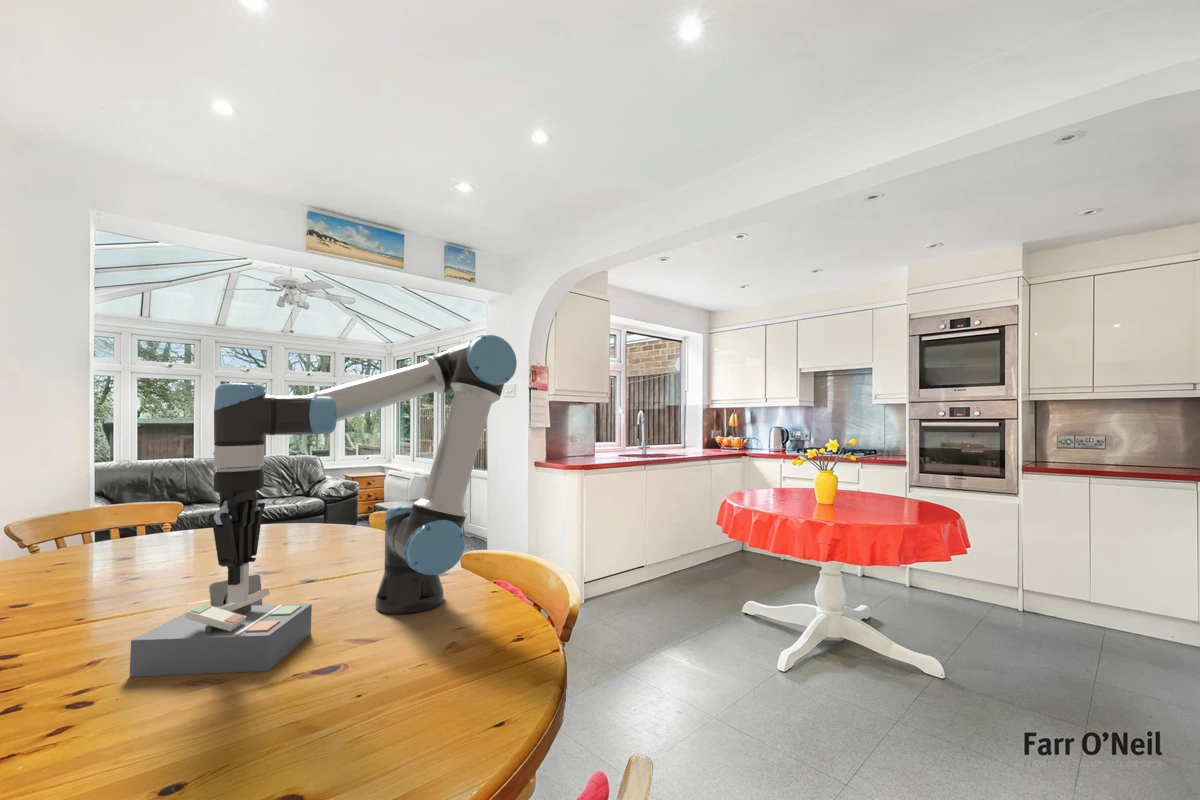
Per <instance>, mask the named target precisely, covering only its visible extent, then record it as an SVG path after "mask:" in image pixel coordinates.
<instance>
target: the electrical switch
mask: <svg viewBox="0 0 1200 800" xmlns="http://www.w3.org/2000/svg"><path fill="white" fill-rule="evenodd" d="M208 590H209V591H208V592H209V598H210V606H213V607H222V606H223V605H225V604H227V603H228V579H225V580H220V581H216V582H211V583H210V584H209V588H208ZM260 590H262V581H261V575H260V574H258V573H257V574H251V575H250V574H249V595H251V594H254V593H256V592H257V591H260ZM259 605H263V598H262V599H260V600H258V601H256V602H253V603H252V604H251V606H259Z"/></svg>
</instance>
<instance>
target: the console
mask: <svg viewBox="0 0 1200 800" xmlns="http://www.w3.org/2000/svg"><path fill="white" fill-rule="evenodd" d="M251 604H252V603H251ZM251 604H248V605H246V606H243V607H241V608H238V609H236V610H233V611H231V612H233V613H237V614H240V615H243V616H246V619H245V621H244V623H243V624H241V625H240V626H238V627H237V628H235V629H233V630H232V631H227V630H224V629H220V628H217V627H214V626H210V625H207V624H203V623H200V622H196V621H193V620H189V619H186V618H185V616H186V613H187V611H185V612H184V613H182V614H180V615H178V616H176V617H174V618H173V619H170V620H169V621H167V622H164V623H163V624H161V625H158V626H157V627H155V628H152V629H151V630H149V631H146V632H144V633H143V634H140V635H138V636H136V637H135V638H133V639H131V641H130V655H129V656H130V657H129V658H130V659H129V660H130V661H129V677H130V678H134V677H136V678H137V677H159V676H180V675H181V676H183V675H185V676H186V675H204V674H205V675H206V674H209V675H210V674H225V673H226V674H230V673H231V674H232V673H255V672H256V673H257V672H269V671H270V669H272V668H274V667H275V666H276V665H277V663H279V662H280V661H282V659H284V658H285V657H286V656H287V655H289V654H290V653H291V652H292V651H293V650H294V649H296V648H297V647H298V646H299V645H301V643H302V642H303V641H305V640H306V639H307V638H308V637H309V636H310V635H312V605H313V604H312V603H298V604H264V605H263V604H262V605H259V606H251ZM216 608H220V607H216Z"/></svg>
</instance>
